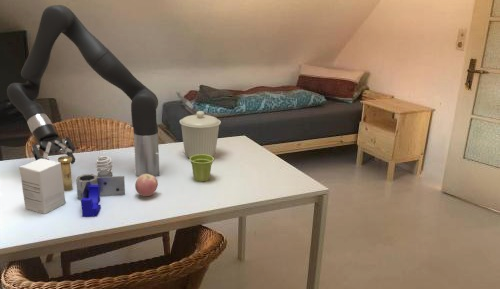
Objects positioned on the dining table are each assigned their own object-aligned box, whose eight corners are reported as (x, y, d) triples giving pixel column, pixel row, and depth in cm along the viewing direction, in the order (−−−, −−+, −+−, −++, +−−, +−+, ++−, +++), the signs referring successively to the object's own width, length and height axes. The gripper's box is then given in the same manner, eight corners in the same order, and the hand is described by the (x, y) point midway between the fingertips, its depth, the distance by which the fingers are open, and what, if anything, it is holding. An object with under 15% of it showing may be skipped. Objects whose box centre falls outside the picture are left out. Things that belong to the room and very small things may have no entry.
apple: (146, 202, 149) (145, 181, 147) (130, 196, 153) (129, 175, 150) (162, 194, 156) (161, 174, 153) (147, 189, 159) (146, 169, 157)
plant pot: (217, 177, 173) (218, 157, 170) (205, 185, 165) (206, 164, 162) (197, 172, 177) (197, 152, 174) (185, 180, 169) (184, 159, 166)
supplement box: (46, 198, 149) (41, 157, 145) (66, 203, 146) (61, 162, 141) (24, 208, 141) (18, 166, 137) (44, 214, 138) (39, 171, 133)
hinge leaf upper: (125, 190, 158) (124, 172, 156) (124, 198, 151) (123, 180, 149) (79, 192, 154) (78, 174, 152) (76, 200, 148) (75, 182, 146)
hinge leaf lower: (99, 191, 156) (98, 173, 154) (94, 211, 141) (92, 192, 139) (79, 192, 154) (78, 174, 152) (72, 213, 140) (70, 193, 138)
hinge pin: (75, 186, 159) (72, 155, 156) (73, 191, 155) (70, 160, 151) (62, 186, 158) (59, 156, 155) (60, 192, 154) (56, 160, 150)
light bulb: (116, 184, 162) (114, 154, 158) (107, 190, 157) (105, 159, 153) (104, 182, 164) (102, 152, 160) (94, 187, 159) (92, 157, 155)
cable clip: (97, 217, 138) (95, 200, 136) (82, 217, 138) (80, 200, 136) (104, 200, 150) (103, 184, 148) (91, 200, 149) (89, 184, 147)
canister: (204, 147, 207) (204, 104, 201) (228, 157, 195) (229, 112, 188) (172, 154, 196) (171, 109, 189) (195, 166, 183) (195, 118, 177)
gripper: (25, 127, 150) (46, 166, 148) (63, 119, 161) (84, 155, 158) (20, 138, 155) (40, 176, 152) (57, 130, 166) (77, 165, 163)
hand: (62, 165), depth 155 cm, fingers open, 8 cm apart
